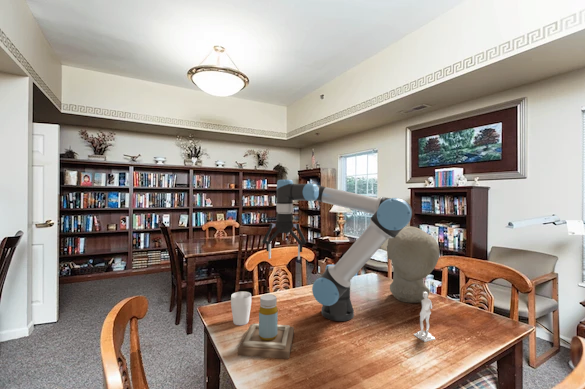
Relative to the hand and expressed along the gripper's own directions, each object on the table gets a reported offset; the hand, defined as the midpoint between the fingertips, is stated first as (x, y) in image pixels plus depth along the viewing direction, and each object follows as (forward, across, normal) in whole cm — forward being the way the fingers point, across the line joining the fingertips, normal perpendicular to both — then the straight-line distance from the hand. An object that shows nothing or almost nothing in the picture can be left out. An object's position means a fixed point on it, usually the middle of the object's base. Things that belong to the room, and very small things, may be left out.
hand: (284, 258), depth 129 cm
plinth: (+27, +3, +24) cm, 36 cm away
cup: (+27, +18, +8) cm, 33 cm away
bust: (+27, -65, -23) cm, 74 cm away
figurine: (+27, -59, +12) cm, 66 cm away
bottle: (+24, +3, +24) cm, 34 cm away
